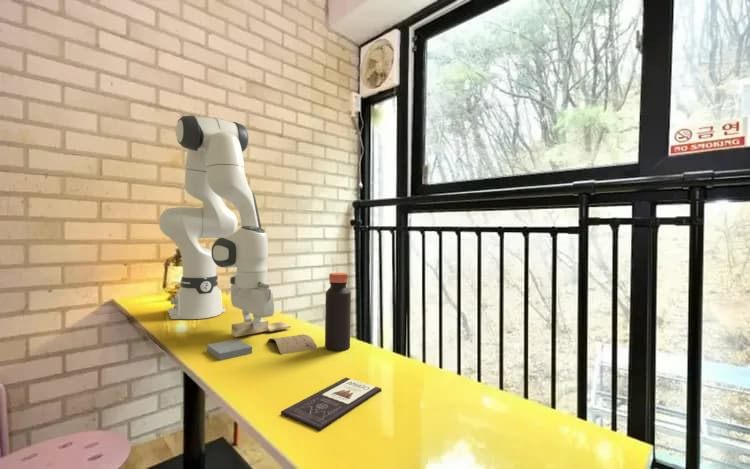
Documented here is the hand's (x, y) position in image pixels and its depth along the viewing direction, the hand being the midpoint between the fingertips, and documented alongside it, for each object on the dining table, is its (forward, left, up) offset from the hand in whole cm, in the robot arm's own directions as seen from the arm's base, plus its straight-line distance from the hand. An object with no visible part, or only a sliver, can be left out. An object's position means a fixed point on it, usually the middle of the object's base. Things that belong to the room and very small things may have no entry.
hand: (251, 326), depth 110 cm
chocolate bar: (+51, -9, -3) cm, 51 cm away
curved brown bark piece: (+17, +3, -3) cm, 17 cm away
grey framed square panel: (+6, -11, -2) cm, 13 cm away
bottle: (+27, +12, -3) cm, 29 cm away
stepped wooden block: (0, +3, -2) cm, 4 cm away
